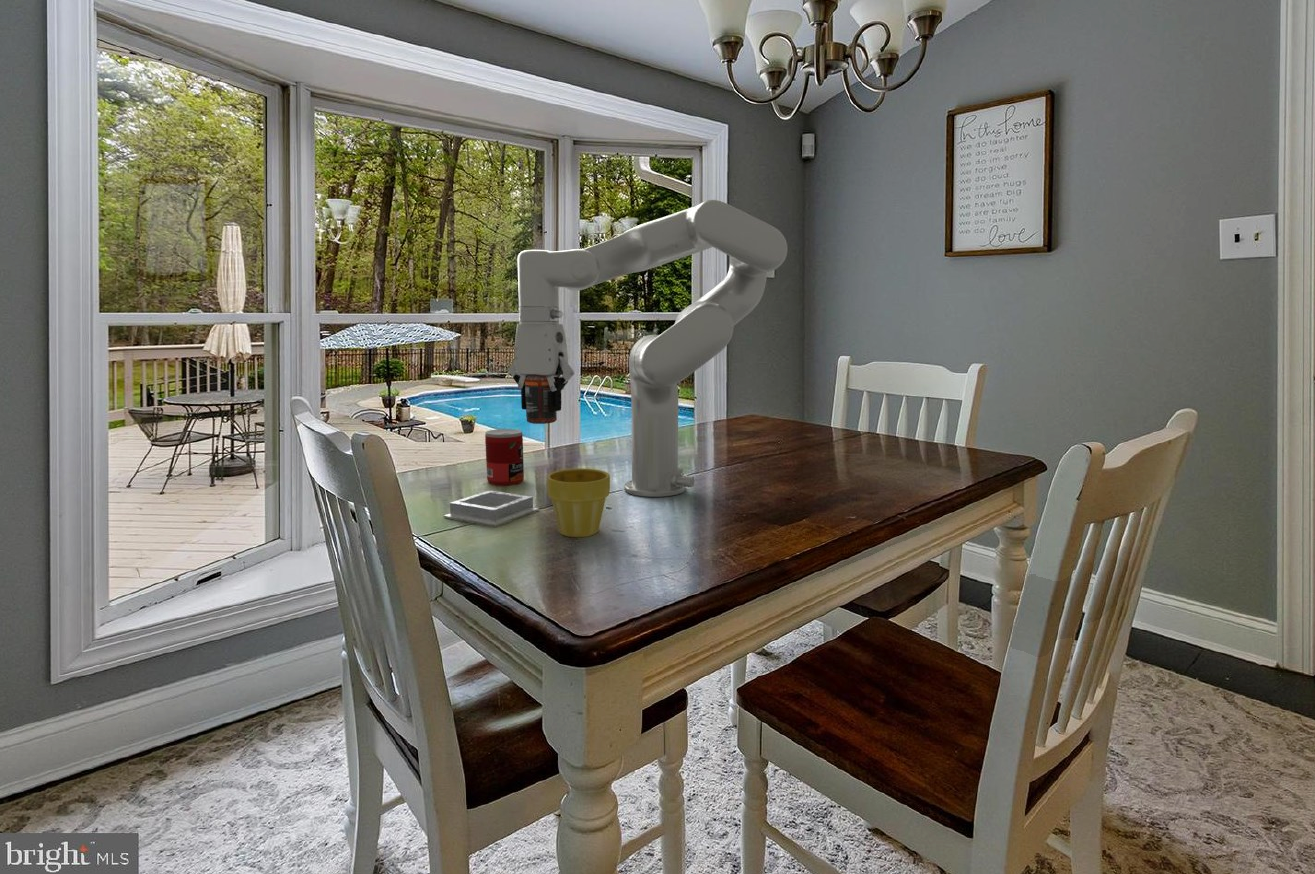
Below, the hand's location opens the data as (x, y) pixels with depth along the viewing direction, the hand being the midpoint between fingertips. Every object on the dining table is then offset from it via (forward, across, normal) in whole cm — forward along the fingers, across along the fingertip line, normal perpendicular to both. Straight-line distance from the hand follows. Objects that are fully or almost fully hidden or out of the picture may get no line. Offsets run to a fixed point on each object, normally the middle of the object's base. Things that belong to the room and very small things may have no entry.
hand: (541, 409), depth 144 cm
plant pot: (+18, -20, +16) cm, 31 cm away
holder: (+18, 0, +15) cm, 23 cm away
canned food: (+18, +15, -6) cm, 24 cm away
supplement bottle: (+3, 0, 0) cm, 3 cm away
